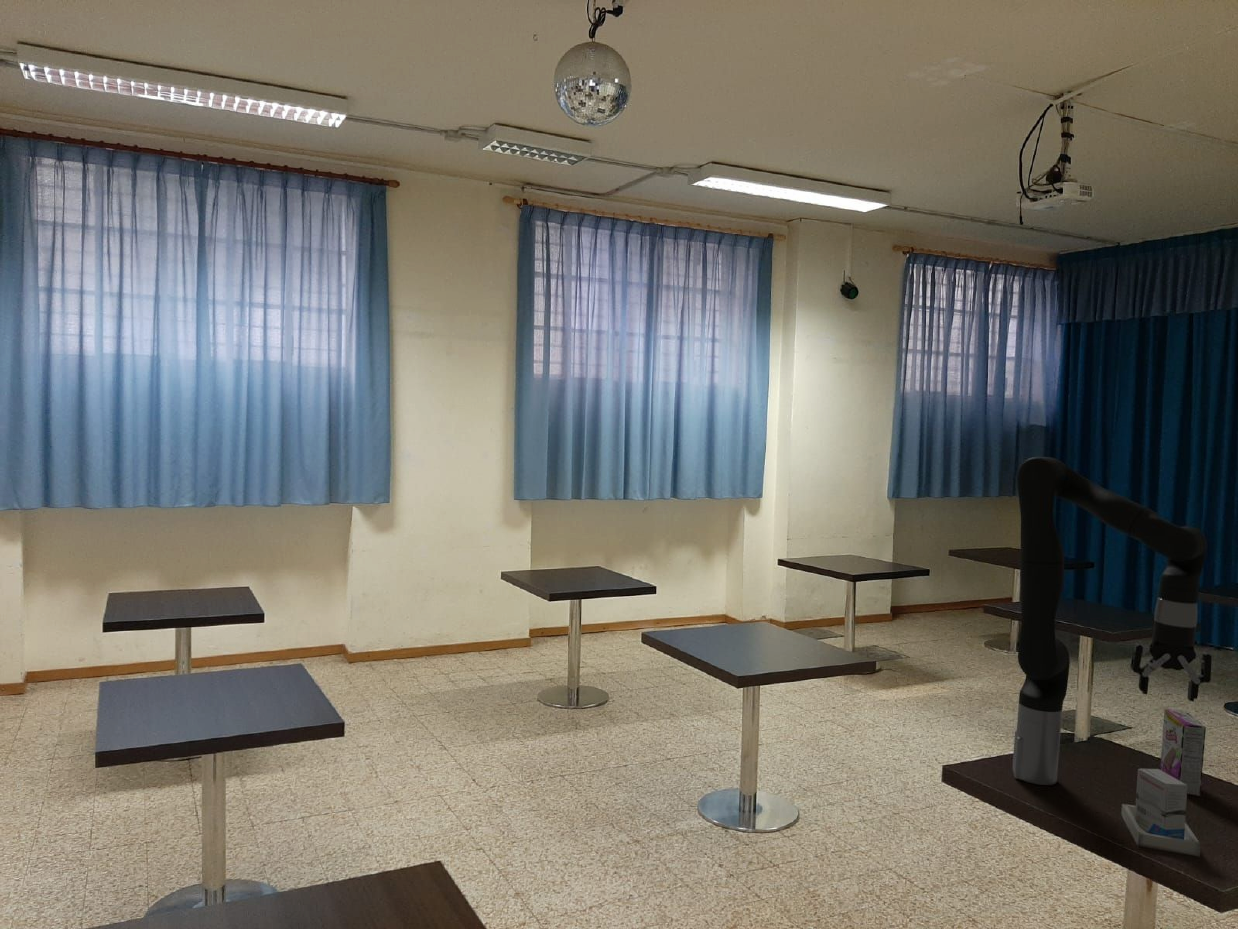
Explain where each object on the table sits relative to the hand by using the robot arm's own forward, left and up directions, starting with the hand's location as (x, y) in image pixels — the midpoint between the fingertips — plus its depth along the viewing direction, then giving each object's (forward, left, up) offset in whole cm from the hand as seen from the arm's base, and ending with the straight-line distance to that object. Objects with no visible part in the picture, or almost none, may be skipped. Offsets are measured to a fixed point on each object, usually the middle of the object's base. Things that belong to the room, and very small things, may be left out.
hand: (1167, 696), depth 186 cm
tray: (-2, -9, -26) cm, 28 cm away
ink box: (-2, -9, -26) cm, 28 cm away
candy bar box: (+10, +23, -27) cm, 36 cm away
